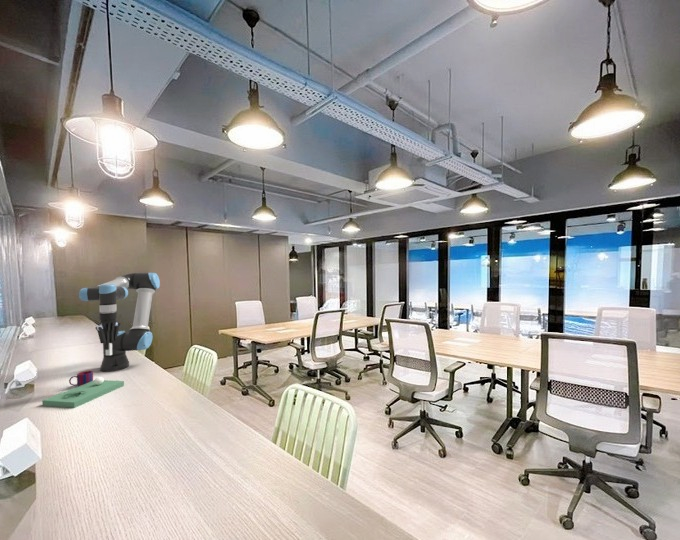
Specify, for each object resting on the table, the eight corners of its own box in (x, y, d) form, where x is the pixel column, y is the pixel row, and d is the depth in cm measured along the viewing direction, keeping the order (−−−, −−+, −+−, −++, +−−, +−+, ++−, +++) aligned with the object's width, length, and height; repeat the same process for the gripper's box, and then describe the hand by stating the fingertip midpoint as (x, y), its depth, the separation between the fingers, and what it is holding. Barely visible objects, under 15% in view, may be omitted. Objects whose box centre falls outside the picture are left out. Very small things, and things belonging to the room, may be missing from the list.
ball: (99, 383, 161) (99, 375, 161) (106, 383, 160) (105, 376, 160) (92, 386, 157) (92, 378, 157) (98, 386, 156) (98, 378, 156)
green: (95, 384, 166) (95, 379, 166) (123, 385, 163) (123, 381, 163) (42, 405, 140) (42, 400, 140) (74, 407, 137) (74, 402, 137)
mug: (94, 384, 165) (93, 372, 165) (70, 390, 158) (69, 377, 158) (91, 381, 170) (91, 369, 170) (68, 387, 162) (68, 374, 162)
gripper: (113, 310, 171) (113, 351, 171) (90, 314, 158) (91, 358, 158) (124, 310, 170) (125, 351, 170) (102, 314, 157) (103, 358, 157)
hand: (108, 354), depth 164 cm, fingers closed
